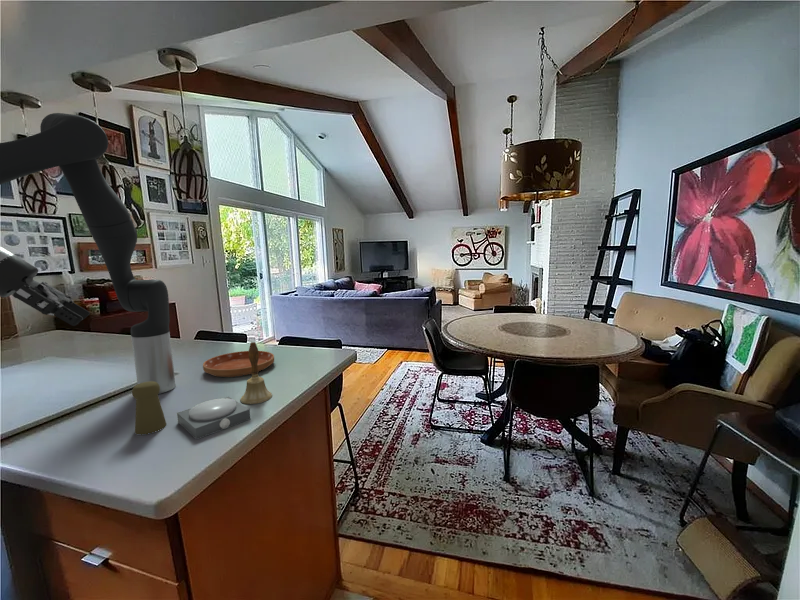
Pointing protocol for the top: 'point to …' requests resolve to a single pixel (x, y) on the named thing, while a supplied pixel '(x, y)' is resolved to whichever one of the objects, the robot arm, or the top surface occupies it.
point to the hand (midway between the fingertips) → (83, 319)
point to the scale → (212, 416)
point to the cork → (148, 408)
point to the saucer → (236, 364)
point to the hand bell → (255, 381)
